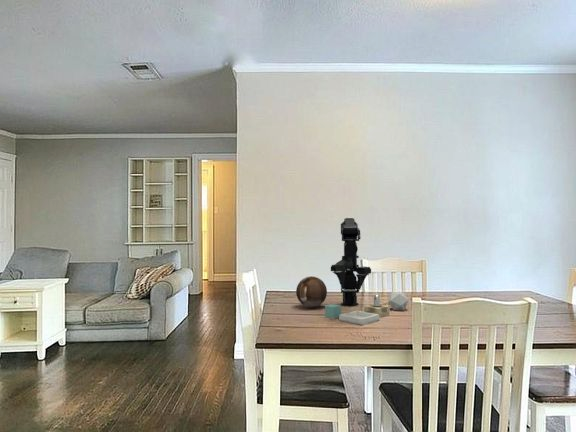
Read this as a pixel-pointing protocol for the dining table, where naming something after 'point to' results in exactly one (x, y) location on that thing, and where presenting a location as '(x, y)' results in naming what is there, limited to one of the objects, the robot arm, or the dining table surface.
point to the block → (332, 310)
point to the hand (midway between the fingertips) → (350, 288)
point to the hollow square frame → (377, 310)
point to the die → (398, 301)
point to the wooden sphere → (311, 291)
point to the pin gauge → (376, 300)
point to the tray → (359, 317)
